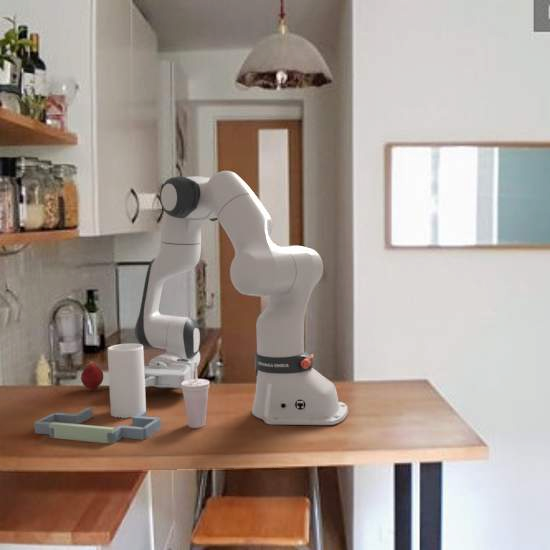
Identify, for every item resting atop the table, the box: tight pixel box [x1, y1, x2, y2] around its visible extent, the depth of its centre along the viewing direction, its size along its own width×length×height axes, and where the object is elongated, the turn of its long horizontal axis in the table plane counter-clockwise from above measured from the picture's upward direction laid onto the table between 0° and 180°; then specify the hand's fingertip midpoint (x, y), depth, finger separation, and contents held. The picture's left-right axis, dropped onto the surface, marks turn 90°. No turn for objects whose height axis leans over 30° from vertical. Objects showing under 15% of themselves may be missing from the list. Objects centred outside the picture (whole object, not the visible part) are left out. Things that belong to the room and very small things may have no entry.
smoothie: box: [180, 362, 211, 429], centre depth 126 cm, size 6×6×14 cm
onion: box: [80, 361, 104, 392], centre depth 156 cm, size 6×6×8 cm
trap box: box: [34, 407, 162, 445], centre depth 125 cm, size 26×14×3 cm, turn 73°
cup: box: [107, 342, 147, 419], centre depth 136 cm, size 8×8×16 cm
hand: (137, 384), depth 140 cm, fingers closed
